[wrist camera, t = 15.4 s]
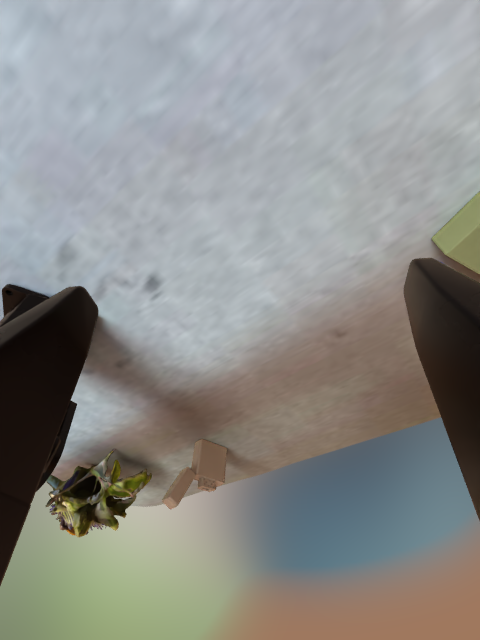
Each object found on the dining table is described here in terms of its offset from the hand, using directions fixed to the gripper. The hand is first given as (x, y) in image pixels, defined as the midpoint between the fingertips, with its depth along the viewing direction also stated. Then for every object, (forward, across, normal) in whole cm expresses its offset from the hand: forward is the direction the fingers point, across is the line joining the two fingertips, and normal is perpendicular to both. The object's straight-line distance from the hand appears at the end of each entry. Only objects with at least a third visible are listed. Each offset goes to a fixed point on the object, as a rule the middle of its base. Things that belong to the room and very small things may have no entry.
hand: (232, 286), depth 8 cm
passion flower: (+8, +27, +36) cm, 46 cm away
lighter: (+9, +12, +32) cm, 36 cm away
